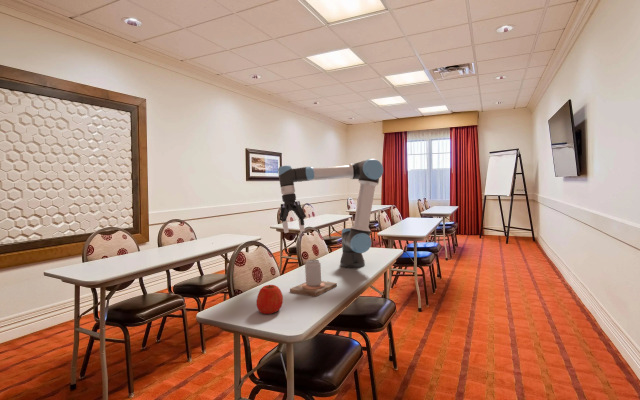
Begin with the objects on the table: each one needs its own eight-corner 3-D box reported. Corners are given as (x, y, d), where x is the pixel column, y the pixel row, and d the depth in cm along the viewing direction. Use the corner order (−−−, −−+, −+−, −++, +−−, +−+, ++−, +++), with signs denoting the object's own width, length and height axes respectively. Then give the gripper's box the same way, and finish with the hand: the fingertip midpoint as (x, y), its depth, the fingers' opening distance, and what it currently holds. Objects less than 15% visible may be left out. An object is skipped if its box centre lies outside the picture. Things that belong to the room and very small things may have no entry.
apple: (286, 313, 135) (285, 286, 135) (259, 317, 132) (258, 290, 131) (280, 304, 145) (279, 279, 145) (254, 308, 142) (253, 283, 141)
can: (302, 285, 165) (301, 261, 165) (313, 282, 171) (312, 258, 170) (313, 288, 160) (312, 262, 160) (324, 284, 166) (323, 259, 165)
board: (312, 282, 177) (312, 278, 177) (336, 286, 169) (336, 282, 169) (290, 291, 162) (289, 288, 162) (315, 296, 154) (315, 292, 154)
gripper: (269, 197, 194) (275, 234, 194) (298, 191, 176) (304, 232, 176) (279, 196, 199) (285, 232, 199) (308, 190, 182) (314, 229, 182)
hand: (294, 232), depth 188 cm, fingers open, 13 cm apart
